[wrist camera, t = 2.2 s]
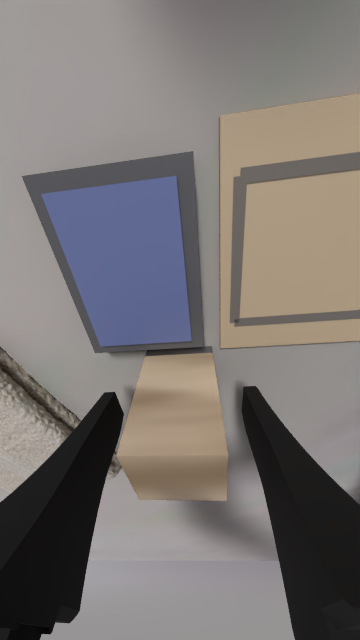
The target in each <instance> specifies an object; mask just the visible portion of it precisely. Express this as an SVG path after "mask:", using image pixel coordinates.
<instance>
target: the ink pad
mask: <svg viewBox="0 0 360 640" xmlns="http://www.w3.org/2000/svg"><path fill="white" fill-rule="evenodd" d="M22 178H23V180H24V183H25V185H26V187H27V190H28V192H29V195H30V197H31V199H32V202H33V204H34V207H35V209H36V212H37V214H38V216H39V219H40V221H41V224H42V226H43V228H44V231H45V233H46V236H47V238H48V240H49V243H50V245H51V248H52V250H53V252H54V255H55V257H56V260H57V262H58V265H59V267H60V269H61V272H62V274H63V277H64V279H65V281H66V284H67V286H68V289H69V291H70V293H71V296H72V298H73V301H74V303H75V306H76V308H77V310H78V313H79V315H80V318H81V320H82V322H83V325H84V327H85V330H86V332H87V334H88V337H89V339H90V342H91V344H92V346H93V349H94V351H95V353H103V352H121V351H138V350H156V349H173V348H190V347H204V339H203V321H202V303H201V285H200V267H199V249H198V231H197V213H196V195H195V177H194V159H193V151H192V152H185V153H179V154H172V155H165V156H158V157H151V158H144V159H137V160H130V161H123V162H117V163H110V164H103V165H96V166H89V167H82V168H75V169H68V170H61V171H55V172H48V173H41V174H34V175H27V176H22Z"/></svg>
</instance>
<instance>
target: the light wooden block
mask: <svg viewBox="0 0 360 640" xmlns="http://www.w3.org/2000/svg"><path fill="white" fill-rule="evenodd" d="M116 456H117V458H118V460H119V462H120V464H121V466H122V468H123V470H124V472H125V473H126V475H127V477H128V479H129V481H130V483H131V485H132V487H133V489H134V491H135V492H136V494H137V496H138V498H139V500H196V501H227V478H228V450H227V443H226V437H225V430H224V424H223V417H222V411H221V404H220V398H219V391H218V385H217V378H216V372H215V365H214V359H213V352H212V346H209V347H192V348H175V349H157V350H147V352H146V355H145V358H144V362H143V365H142V369H141V372H140V376H139V379H138V383H137V386H136V390H135V393H134V396H133V400H132V403H131V407H130V410H129V414H128V417H127V421H126V424H125V428H124V431H123V434H122V438H121V441H120V445H119V448H118V452H117V455H116Z"/></svg>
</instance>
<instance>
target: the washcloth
mask: <svg viewBox="0 0 360 640" xmlns="http://www.w3.org/2000/svg"><path fill="white" fill-rule="evenodd" d="M80 422H81V421H80V420H79V419H78V418H77V417H76V416H75V414H72V413H70V412H69V410H68V409H67V408H64V407H63V405H62V404H61V403H60V402H59V401H58V400H55V399H54V398H53V396H52V395H51V394H49V393H48V391H47V390H46V389H45V388H43V387H41V386H40V385H39V384H38V383H37V382H36V381H35V380H33V379H32V378H31V377H30V375H29V374H28V373H27V372H26V371H25V370H24V369H23V368H22V366H21V365H19V364H17V363H16V362H15V361H14V360H13V359H12V358H11V357H10V356H8V354H7V353H6V352H4V351H3V350H2V349H1V348H0V488H1V489H3V490H5V491H6V492H8V493H9V494H11V493H12V492H13V491H14V490H15V489H16V488H17V487H19V486H20V485H21V484H22V483H23V482H24V481H25V480H26V479H27V478H28V477H29V476H30V475H32V474H33V473H34V472H35V471H36V470H37V469H38V468H39V467H40V466H41V465H42V464H43V463H44V462H45V461H46V460H47V459H48V458H49V457H50V456H51V455H52V454H53V453H54V452H55V450H56V449H57V448H58V447H59V446H60V445H61V444H62V443H63V442H64V441H65V439H66V438H67V437H68V436H69V435H70V434H71V433H72V432H73V430H74V429H75V428H76V427H77V426H78V425H79V423H80ZM116 455H117V454H116V453H115V452H114V455H113V458H112V461H111V464H110V467H109V470H108V474H107V477H106V479H111V478H114V477H116V475H117V474H118V473H119V471H120V469H121V464H120V462H119V460H118V458H117V456H116Z"/></svg>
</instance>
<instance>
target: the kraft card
mask: <svg viewBox="0 0 360 640" xmlns="http://www.w3.org/2000/svg"><path fill="white" fill-rule="evenodd" d="M219 158H220V348H239V347H257V346H274V345H292V344H310V343H328V342H346V341H360V93H359V94H352V95H346V96H340V97H334V98H327V99H321V100H315V101H308V102H302V103H296V104H290V105H283V106H277V107H271V108H265V109H258V110H252V111H246V112H239V113H233V114H227V115H221V116H220V117H219Z"/></svg>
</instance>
